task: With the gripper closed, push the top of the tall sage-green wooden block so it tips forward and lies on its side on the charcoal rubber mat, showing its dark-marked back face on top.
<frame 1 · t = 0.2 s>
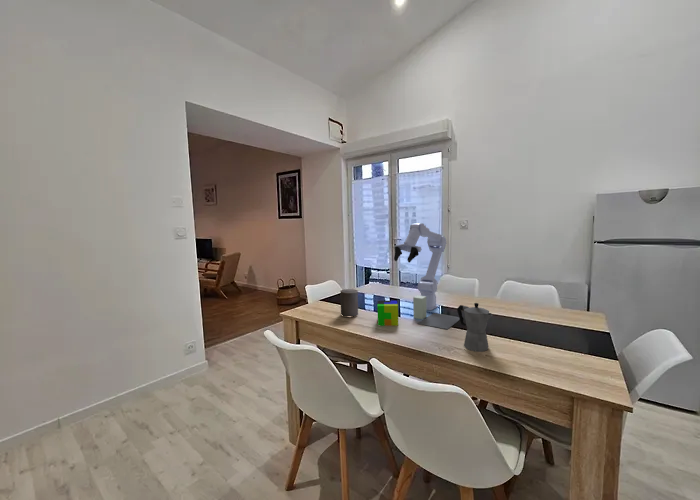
hand: (401, 260, 153), 31 cm above the table, tool tilted 45°, fingers open, 7 cm apart
pillar candle: (349, 315, 169), on the table
tall block: (420, 317, 160), on the table
puzzle toy: (387, 322, 154), on the table
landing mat: (440, 321, 154), on the table
coffeepot: (473, 346, 122), on the table
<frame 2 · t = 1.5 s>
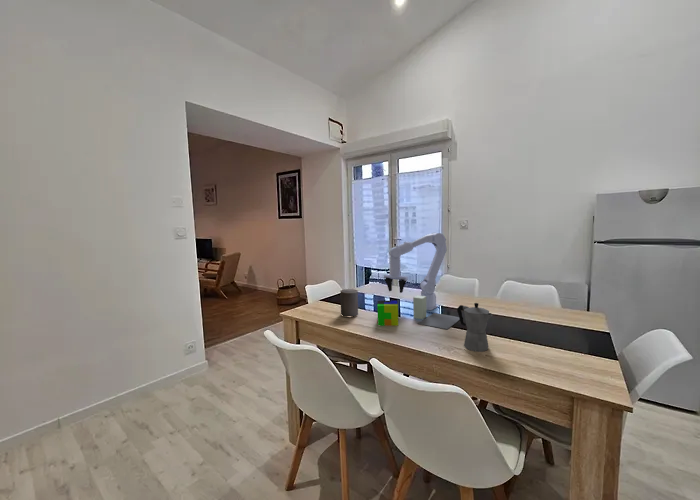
hand: (395, 291, 175), 10 cm above the table, tool pointing down, fingers open, 7 cm apart
nothing on the table moved.
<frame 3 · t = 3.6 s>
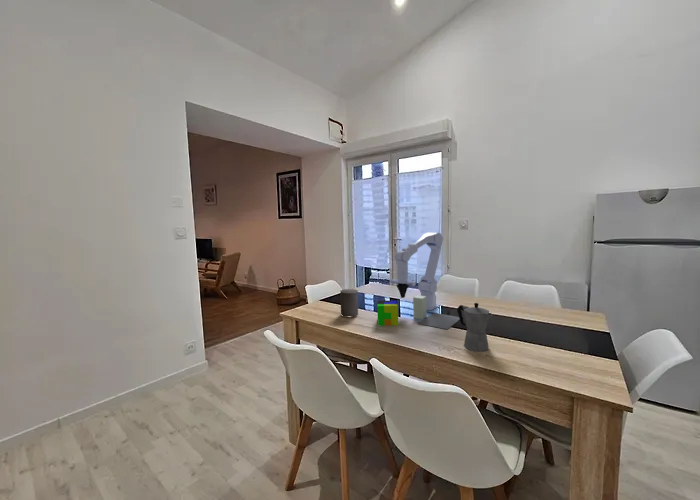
hand: (402, 297, 166), 9 cm above the table, tool pointing down, fingers closed
nothing on the table moved.
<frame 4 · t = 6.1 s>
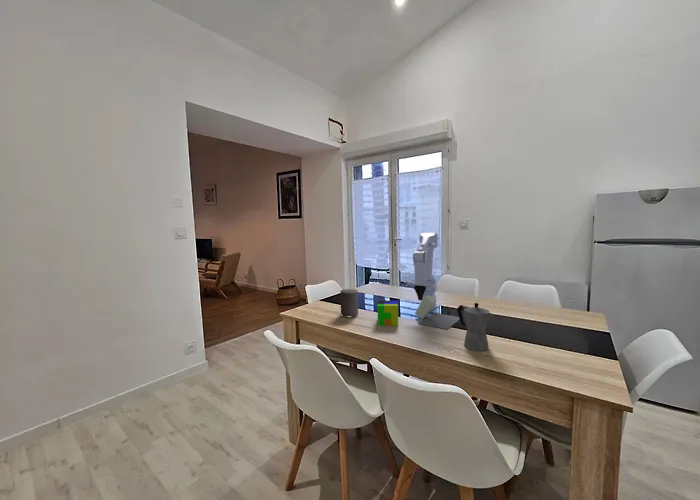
hand: (420, 299, 159), 9 cm above the table, tool pointing down, fingers closed
tall block: (420, 315, 160), point 1 cm above the table, tilted 31°
everything else where it was.
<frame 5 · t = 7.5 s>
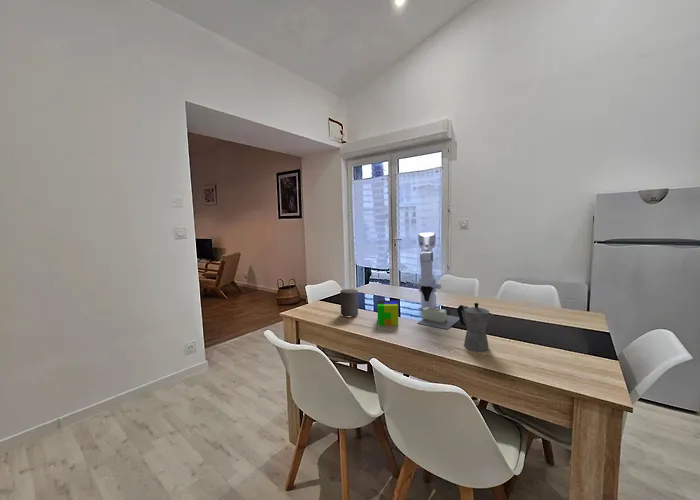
hand: (426, 300, 157), 9 cm above the table, tool pointing down, fingers closed
tall block: (424, 312, 159), point 3 cm above the table, tilted 90°, touching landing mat
everything else where it was.
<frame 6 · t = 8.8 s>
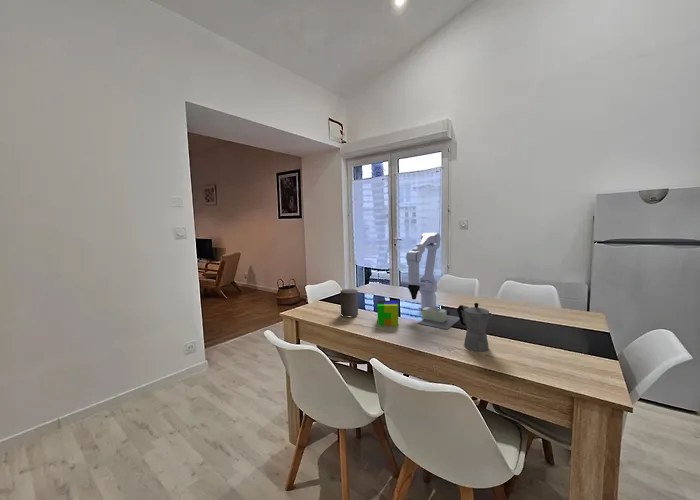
hand: (414, 299, 162), 9 cm above the table, tool pointing down, fingers closed
nothing on the table moved.
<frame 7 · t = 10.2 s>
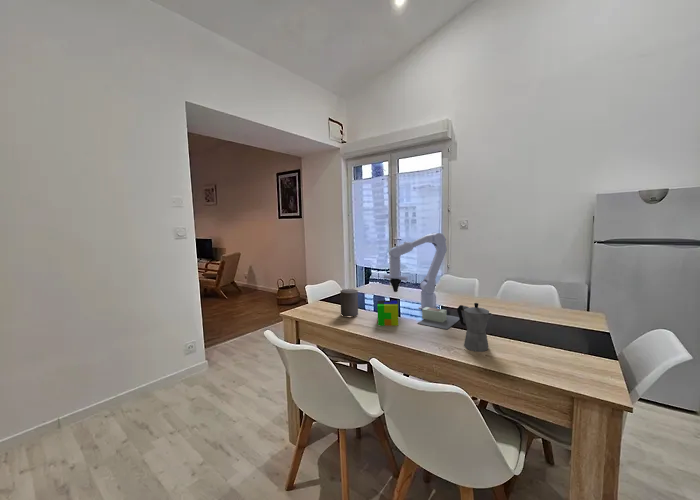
hand: (395, 291, 175), 10 cm above the table, tool pointing down, fingers closed
nothing on the table moved.
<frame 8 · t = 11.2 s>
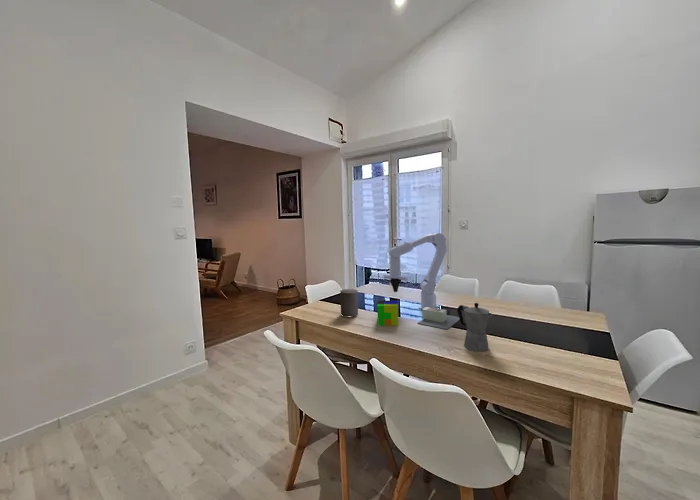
hand: (395, 291, 175), 10 cm above the table, tool pointing down, fingers closed
nothing on the table moved.
at the end: tall block tilted 90°; tall block inside the target area (1.1 cm from its centre), point 2.9 cm above the table; tall block touching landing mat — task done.
